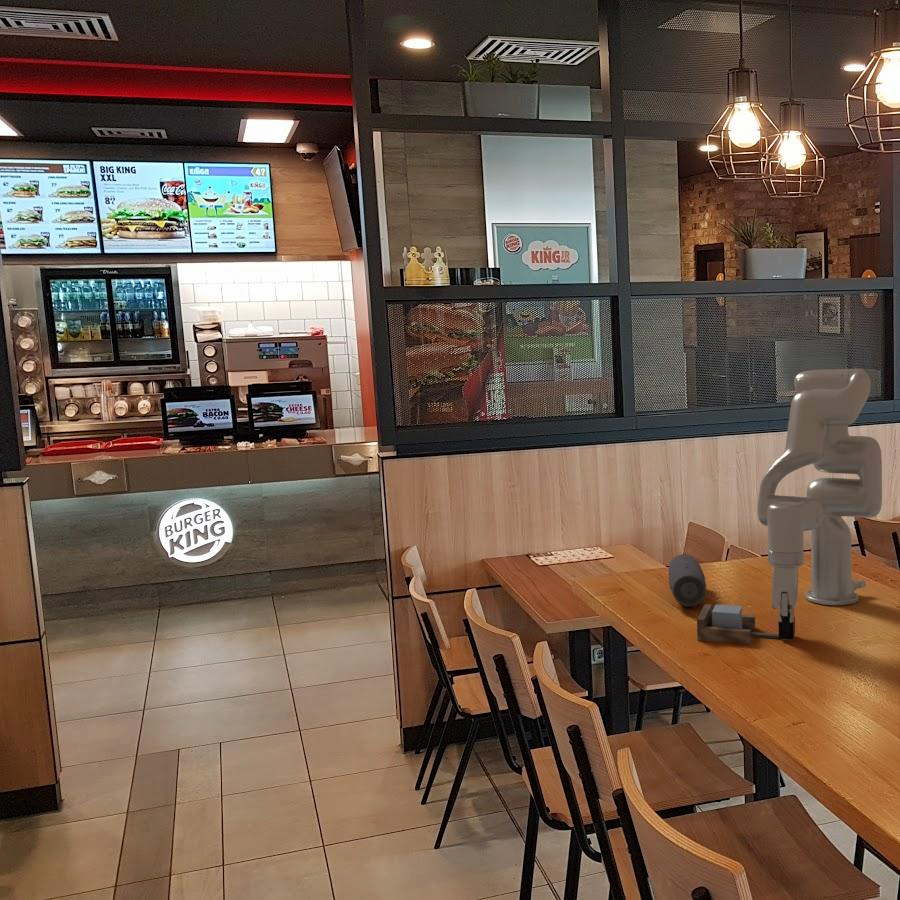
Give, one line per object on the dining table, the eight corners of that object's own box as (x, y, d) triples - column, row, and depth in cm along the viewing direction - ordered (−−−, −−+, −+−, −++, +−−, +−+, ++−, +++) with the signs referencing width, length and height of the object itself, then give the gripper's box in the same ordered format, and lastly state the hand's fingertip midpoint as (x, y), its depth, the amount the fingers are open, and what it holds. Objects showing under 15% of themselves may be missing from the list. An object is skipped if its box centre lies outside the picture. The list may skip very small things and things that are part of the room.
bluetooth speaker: (709, 611, 226) (708, 573, 224) (671, 611, 227) (670, 573, 226) (702, 586, 248) (701, 551, 247) (667, 587, 250) (666, 552, 248)
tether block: (795, 634, 204) (794, 605, 204) (793, 643, 199) (793, 612, 198) (716, 628, 212) (715, 600, 211) (712, 636, 206) (711, 607, 206)
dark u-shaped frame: (755, 627, 211) (755, 607, 210) (750, 644, 200) (749, 623, 199) (705, 624, 216) (704, 604, 215) (697, 640, 205) (696, 619, 204)
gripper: (771, 548, 209) (772, 623, 211) (764, 565, 194) (766, 646, 196) (805, 549, 206) (806, 626, 208) (801, 567, 191) (802, 649, 193)
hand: (786, 635), depth 202 cm, fingers closed on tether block, 3 cm apart
